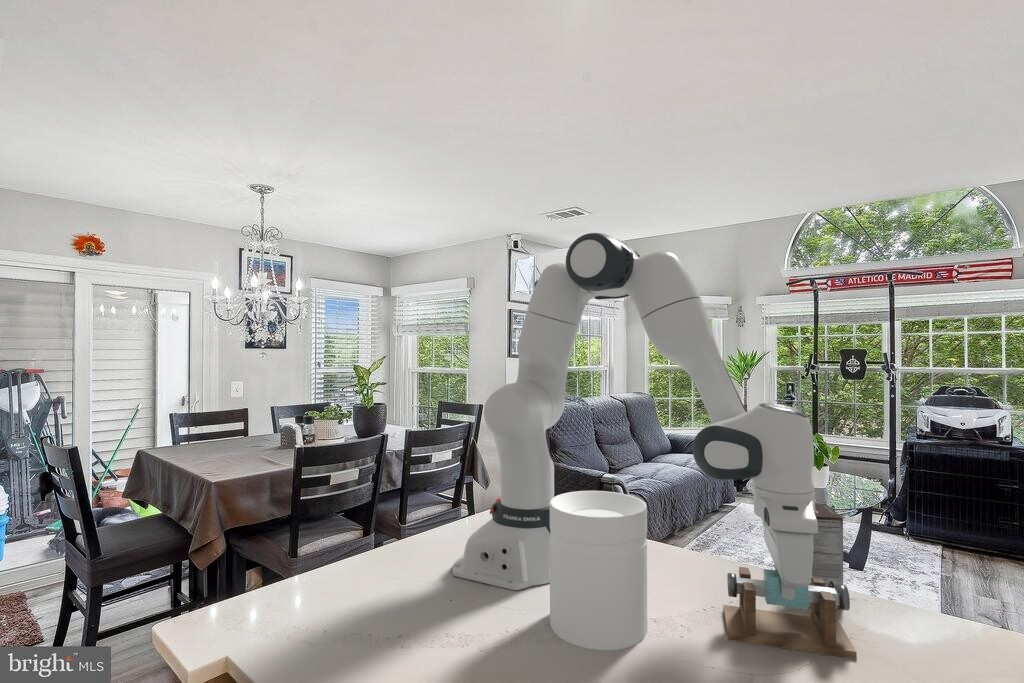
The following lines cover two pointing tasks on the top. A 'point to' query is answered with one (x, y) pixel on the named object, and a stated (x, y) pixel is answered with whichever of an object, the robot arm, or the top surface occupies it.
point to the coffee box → (828, 546)
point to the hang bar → (773, 591)
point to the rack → (788, 624)
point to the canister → (598, 569)
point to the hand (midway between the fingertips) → (784, 591)
